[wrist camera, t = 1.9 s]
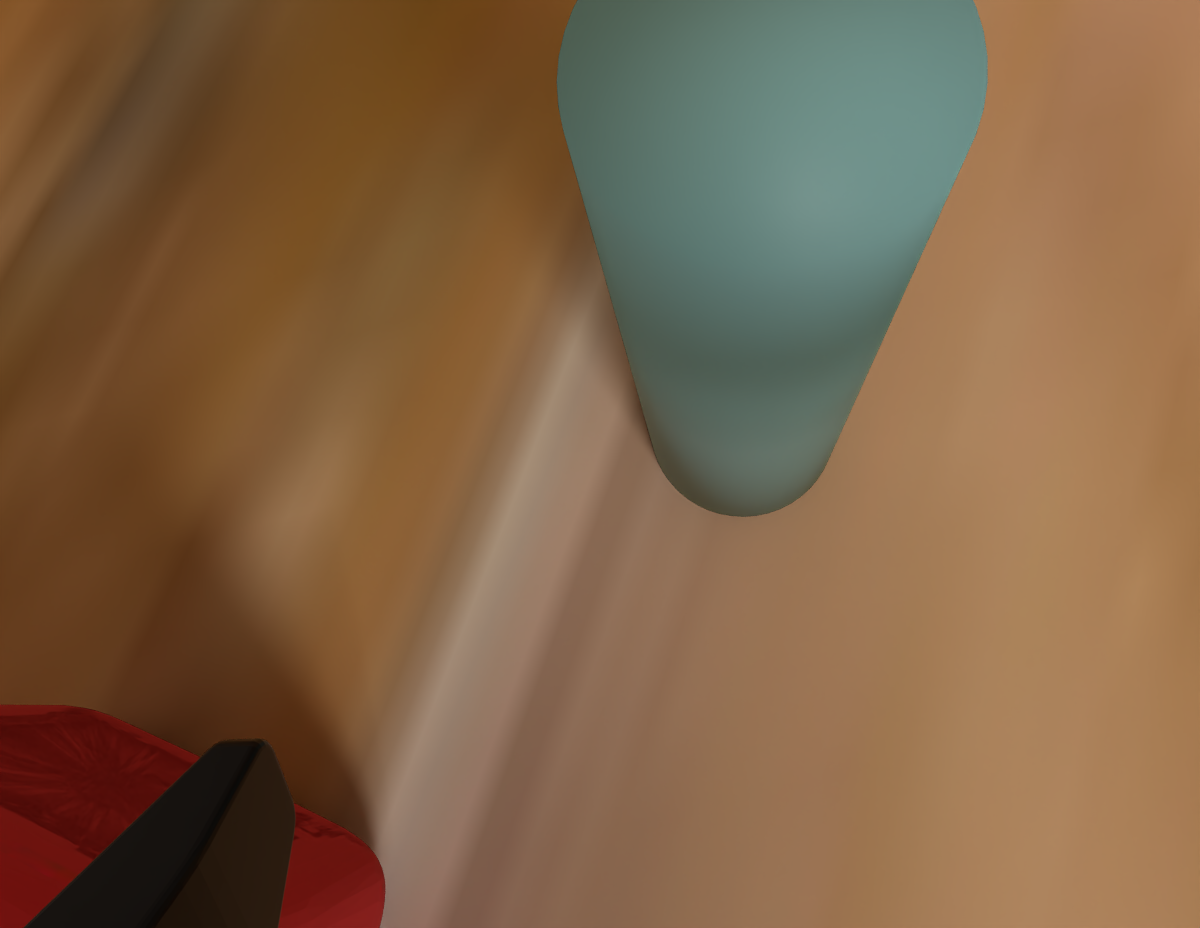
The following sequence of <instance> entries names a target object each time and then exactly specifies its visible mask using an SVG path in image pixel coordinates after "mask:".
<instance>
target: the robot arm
mask: <svg viewBox="0 0 1200 928" xmlns="http://www.w3.org/2000/svg"><path fill="white" fill-rule="evenodd" d="M294 831H295V807H294V802H293V799H292V796H291V794H290V791H289V788H288V786H287V783H286V781H285V778H284V775H283V773H282V770H281V768H280V765H279V762H278V760H277V757H276V755H275V752H274V750H273V748H272V746H271V745H270V744H269V743H268V742H267V741H266V740H264V739H260V738H257V739H233V740H223V741H220V742H218V743H216V744H215V745H213V746H212V747H211V748H210V749H208V750H207V751H206V752H205V753H204V754H203V755H202V756H201V757H200V758H199V759H198V760H197V761H196V762H195V763H194V764H193V765H192V766H191V767H190V768H189V769H188V770H187V771H186V772H185V773H183V774H182V775H181V776H180V777H179V778H178V779H177V780H176V781H175V782H174V783H173V784H172V785H171V786H170V787H169V788H168V789H167V790H166V791H165V792H164V793H163V794H162V795H161V796H160V797H159V798H157V799H156V800H155V801H154V802H153V803H152V804H151V805H150V806H149V807H148V808H147V809H146V810H145V811H144V812H143V813H142V814H141V815H140V816H139V817H138V818H137V819H136V820H135V821H134V822H132V823H131V824H130V825H129V826H128V827H127V828H126V829H125V830H124V831H123V832H122V833H121V834H120V835H119V836H118V837H117V838H116V839H115V840H114V841H113V842H112V843H111V844H110V845H109V846H108V847H106V848H105V849H104V850H103V851H102V852H101V853H100V854H99V855H98V856H97V857H96V858H95V859H94V860H93V861H92V862H91V863H90V864H89V865H88V866H87V867H86V868H85V869H84V870H83V871H82V872H80V873H79V874H78V875H77V876H76V877H75V878H74V879H73V880H72V881H71V882H70V883H69V884H68V885H67V886H66V887H65V888H64V889H63V890H62V891H61V892H60V893H59V894H58V895H57V896H56V897H54V898H53V899H52V900H51V901H50V902H49V903H48V904H47V905H46V906H45V907H44V908H43V909H42V910H41V911H40V912H39V913H38V914H37V915H36V916H35V917H34V918H33V919H32V920H31V921H30V922H28V923H27V924H26V925H25V926H24V927H23V928H278V926H279V920H280V914H281V909H282V903H283V897H284V891H285V885H286V879H287V873H288V867H289V861H290V855H291V849H292V844H293V838H294Z"/></svg>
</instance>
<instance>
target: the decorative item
mask: <svg viewBox="0 0 1200 928" xmlns="http://www.w3.org/2000/svg"><path fill="white" fill-rule="evenodd" d="M199 758H200V757H199V756H197V755H195V754H193V753H191V752H188V751H186V750H184V749H182V748H180V747H178V746H175V745H173V744H171V743H169V742H167V741H165V740H163V739H160V738H158V737H156V736H154V735H152V734H150V733H147V732H145V731H143V730H141V729H139V728H137V727H135V726H132V725H130V724H128V723H126V722H124V721H122V720H120V719H117V718H115V717H113V716H110V715H107V714H104V713H101V712H98V711H95V710H91V709H86V708H81V707H73V706H66V705H0V928H23V927H24V926H25V925H26V924H27V923H28V922H30V921H31V920H32V919H33V918H34V917H35V916H36V915H37V914H38V913H39V912H40V911H41V910H42V909H43V908H44V907H45V906H46V905H47V904H48V903H49V902H50V901H51V900H52V899H53V898H54V897H56V896H57V895H58V894H59V893H60V892H61V891H62V890H63V889H64V888H65V887H66V886H67V885H68V884H69V883H70V882H71V881H72V880H73V879H74V878H75V877H76V876H77V875H78V874H79V873H80V872H82V871H83V870H84V869H85V868H86V867H87V866H88V865H89V864H90V863H91V862H92V861H93V860H94V859H95V858H96V857H97V856H98V855H99V854H100V853H101V852H102V851H103V850H104V849H105V848H106V847H108V846H109V845H110V844H111V843H112V842H113V841H114V840H115V839H116V838H117V837H118V836H119V835H120V834H121V833H122V832H123V831H124V830H125V829H126V828H127V827H128V826H129V825H130V824H131V823H132V822H134V821H135V820H136V819H137V818H138V817H139V816H140V815H141V814H142V813H143V812H144V811H145V810H146V809H147V808H148V807H149V806H150V805H151V804H152V803H153V802H154V801H155V800H156V799H157V798H159V797H160V796H161V795H162V794H163V793H164V792H165V791H166V790H167V789H168V788H169V787H170V786H171V785H172V784H173V783H174V782H175V781H176V780H177V779H178V778H179V777H180V776H181V775H182V774H183V773H185V772H186V771H187V770H188V769H189V768H190V767H191V766H192V765H193V764H194V763H195V762H196V761H197V760H198V759H199ZM294 807H295V831H294V838H293V844H292V849H291V855H290V861H289V867H288V873H287V879H286V885H285V891H284V897H283V903H282V909H281V914H280V920H279V926H278V928H379V927H380V923H381V919H382V914H383V909H384V902H385V879H384V874H383V870H382V867H381V865H380V862H379V860H378V859H377V857H376V855H375V854H374V852H373V851H372V850H371V849H370V848H369V847H368V846H367V845H366V844H365V843H364V842H363V841H362V840H361V839H359V838H358V837H357V836H355V835H354V834H352V833H351V832H349V831H348V830H346V829H345V828H343V827H341V826H339V825H337V824H335V823H333V822H331V821H329V820H327V819H325V818H323V817H321V816H319V815H317V814H315V813H313V812H311V811H309V810H307V809H305V808H303V807H301V806H299V805H297V804H295V803H294Z"/></svg>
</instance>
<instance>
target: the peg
mask: <svg viewBox="0 0 1200 928" xmlns="http://www.w3.org/2000/svg"><path fill="white" fill-rule="evenodd" d="M986 89H987V51H986V44H985V38H984V31H983V28H982V25H981V21H980V18H979V15H978V12H977V8H976V6H975V4H974V2H973V0H577V2H576V4H575V6H574V8H573V10H572V13H571V15H570V18H569V21H568V24H567V26H566V29H565V32H564V36H563V40H562V45H561V49H560V54H559V60H558V73H557V93H558V107H559V112H560V117H561V122H562V126H563V131H564V135H565V138H566V142H567V145H568V149H569V152H570V156H571V159H572V163H573V166H574V170H575V173H576V177H577V181H578V184H579V188H580V191H581V195H582V198H583V202H584V205H585V209H586V212H587V216H588V219H589V223H590V226H591V230H592V233H593V237H594V241H595V244H596V248H597V251H598V255H599V258H600V262H601V265H602V269H603V272H604V276H605V279H606V283H607V286H608V290H609V294H610V297H611V301H612V304H613V308H614V311H615V315H616V318H617V322H618V325H619V329H620V332H621V336H622V339H623V343H624V346H625V350H626V354H627V357H628V361H629V364H630V368H631V371H632V375H633V378H634V382H635V385H636V389H637V392H638V396H639V399H640V403H641V407H642V410H643V414H644V417H645V421H646V424H647V428H648V431H649V435H650V438H651V442H652V445H653V449H654V452H655V455H656V458H657V461H658V463H659V465H660V467H661V469H662V471H663V473H664V474H665V476H666V477H667V478H668V480H669V481H670V483H671V484H672V485H673V486H674V487H675V488H676V489H677V490H678V491H679V492H680V493H681V494H682V495H684V496H685V497H686V498H687V499H689V500H690V501H692V502H693V503H695V504H697V505H698V506H700V507H703V508H705V509H707V510H709V511H712V512H716V513H719V514H723V515H729V516H741V517H746V516H757V515H762V514H767V513H770V512H773V511H776V510H779V509H781V508H783V507H785V506H787V505H789V504H791V503H792V502H794V501H795V500H797V499H798V498H800V497H801V496H802V495H803V494H804V493H805V492H807V491H808V490H809V489H810V488H811V487H812V485H813V484H814V483H815V482H816V481H817V479H818V478H819V476H820V475H821V473H822V472H823V470H824V468H825V466H826V464H827V462H828V460H829V457H830V455H831V453H832V451H833V449H834V446H835V444H836V442H837V440H838V438H839V435H840V433H841V431H842V429H843V427H844V424H845V422H846V420H847V418H848V416H849V413H850V411H851V409H852V407H853V405H854V402H855V400H856V398H857V396H858V393H859V391H860V389H861V387H862V385H863V382H864V380H865V378H866V376H867V374H868V371H869V369H870V367H871V365H872V363H873V360H874V358H875V356H876V354H877V352H878V349H879V347H880V345H881V343H882V341H883V338H884V336H885V334H886V332H887V330H888V327H889V325H890V323H891V321H892V318H893V316H894V314H895V312H896V310H897V307H898V305H899V303H900V301H901V299H902V296H903V294H904V292H905V290H906V288H907V285H908V283H909V281H910V279H911V277H912V274H913V272H914V270H915V268H916V266H917V263H918V261H919V259H920V257H921V255H922V252H923V250H924V248H925V246H926V243H927V241H928V239H929V237H930V235H931V232H932V230H933V228H934V226H935V224H936V221H937V219H938V217H939V215H940V213H941V210H942V208H943V206H944V204H945V202H946V199H947V197H948V195H949V193H950V191H951V188H952V186H953V184H954V182H955V180H956V177H957V175H958V173H959V171H960V169H961V166H962V164H963V162H964V160H965V157H966V155H967V153H968V151H969V149H970V146H971V144H972V142H973V140H974V138H975V135H976V133H977V129H978V126H979V123H980V119H981V116H982V113H983V109H984V103H985V96H986Z"/></svg>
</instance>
